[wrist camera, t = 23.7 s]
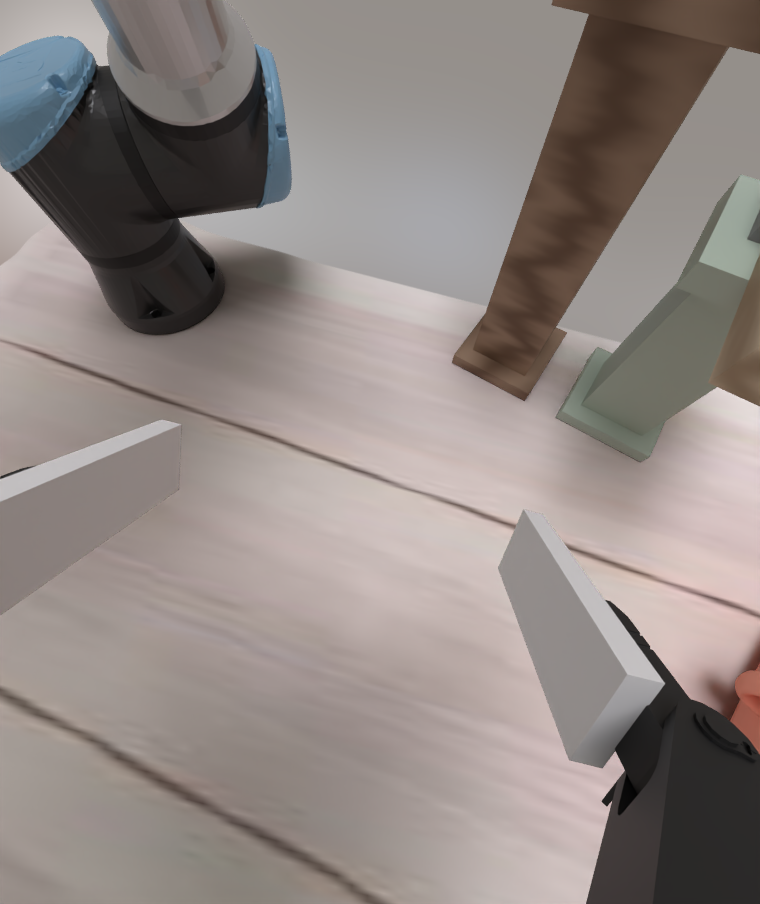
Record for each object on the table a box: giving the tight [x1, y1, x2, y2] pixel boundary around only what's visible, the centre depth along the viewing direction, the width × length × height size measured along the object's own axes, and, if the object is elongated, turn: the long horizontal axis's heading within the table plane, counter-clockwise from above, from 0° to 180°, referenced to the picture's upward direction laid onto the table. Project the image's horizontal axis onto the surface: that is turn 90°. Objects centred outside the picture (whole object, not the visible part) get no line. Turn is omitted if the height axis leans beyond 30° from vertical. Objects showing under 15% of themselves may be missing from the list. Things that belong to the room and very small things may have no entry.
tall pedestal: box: [452, 0, 760, 401], centre depth 31 cm, size 10×11×31 cm
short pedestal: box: [556, 175, 760, 462], centre depth 32 cm, size 10×11×20 cm
